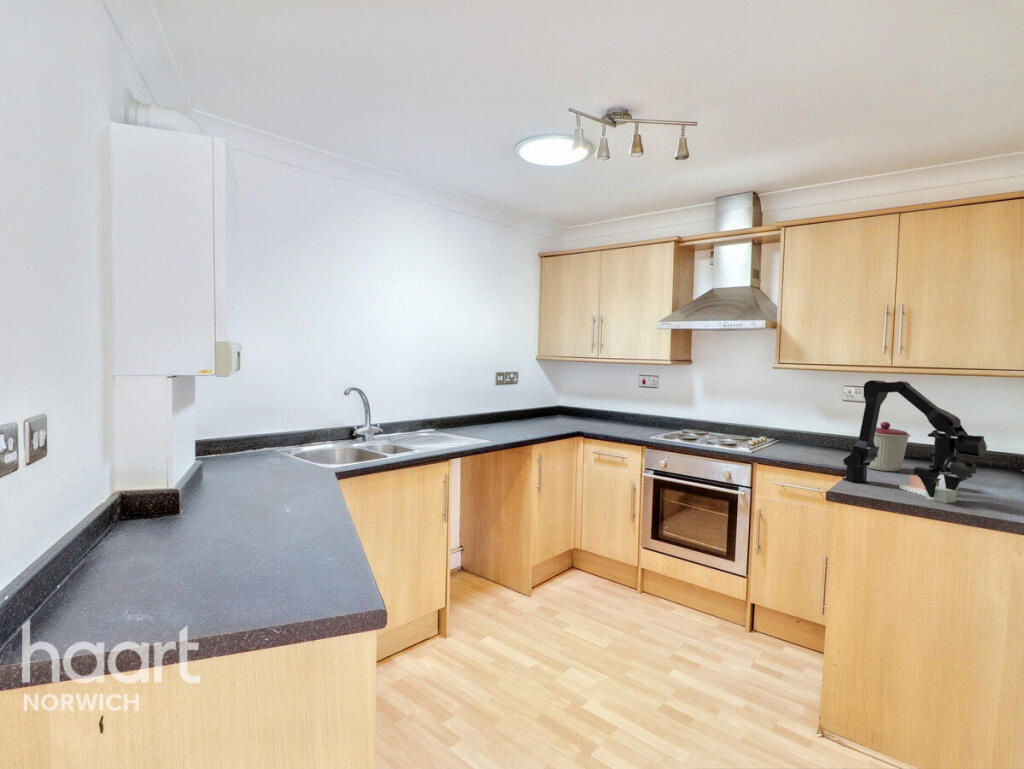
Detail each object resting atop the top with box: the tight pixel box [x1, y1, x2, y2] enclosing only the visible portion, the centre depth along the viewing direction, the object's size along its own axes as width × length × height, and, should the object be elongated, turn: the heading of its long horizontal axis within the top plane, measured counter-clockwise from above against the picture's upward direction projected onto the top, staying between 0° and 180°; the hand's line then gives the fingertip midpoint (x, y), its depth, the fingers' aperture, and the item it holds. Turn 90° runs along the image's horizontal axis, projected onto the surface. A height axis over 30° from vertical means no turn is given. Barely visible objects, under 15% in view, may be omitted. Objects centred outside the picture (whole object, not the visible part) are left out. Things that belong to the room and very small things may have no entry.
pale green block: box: [925, 486, 957, 504], centre depth 180 cm, size 6×6×4 cm
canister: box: [867, 421, 911, 473], centre depth 231 cm, size 18×18×21 cm
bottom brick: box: [908, 474, 939, 490], centre depth 190 cm, size 6×6×4 cm
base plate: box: [898, 484, 926, 496], centre depth 191 cm, size 10×10×2 cm
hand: (940, 496), depth 180 cm, fingers open, 8 cm apart
